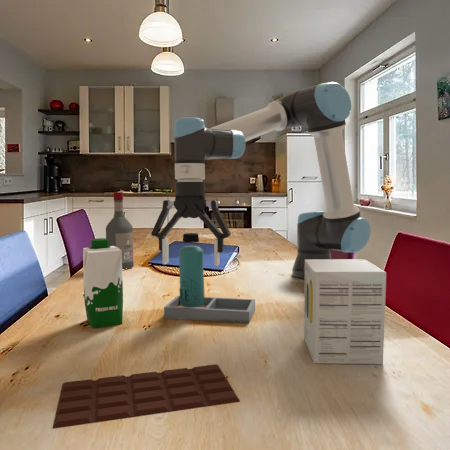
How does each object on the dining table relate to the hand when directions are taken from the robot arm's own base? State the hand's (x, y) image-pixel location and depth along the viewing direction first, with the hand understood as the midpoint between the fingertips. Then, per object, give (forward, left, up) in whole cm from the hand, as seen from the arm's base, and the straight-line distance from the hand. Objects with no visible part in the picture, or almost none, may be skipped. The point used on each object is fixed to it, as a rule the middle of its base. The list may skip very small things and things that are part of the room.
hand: (191, 264), depth 111 cm
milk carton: (+19, +11, -13) cm, 25 cm away
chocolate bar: (-5, +43, -13) cm, 45 cm away
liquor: (+44, -52, -13) cm, 69 cm away
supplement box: (-36, +19, -13) cm, 43 cm away
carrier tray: (-5, 0, -13) cm, 14 cm away
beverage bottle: (0, 0, -12) cm, 12 cm away
